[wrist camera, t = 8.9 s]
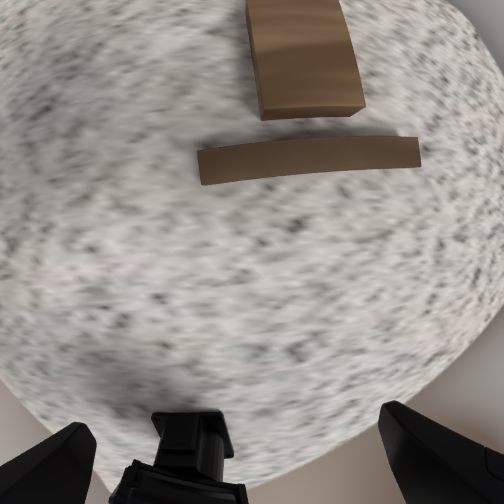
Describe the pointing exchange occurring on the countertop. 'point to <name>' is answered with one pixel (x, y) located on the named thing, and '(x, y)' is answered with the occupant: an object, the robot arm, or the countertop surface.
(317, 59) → the slab
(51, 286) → the countertop surface
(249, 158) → the strip
